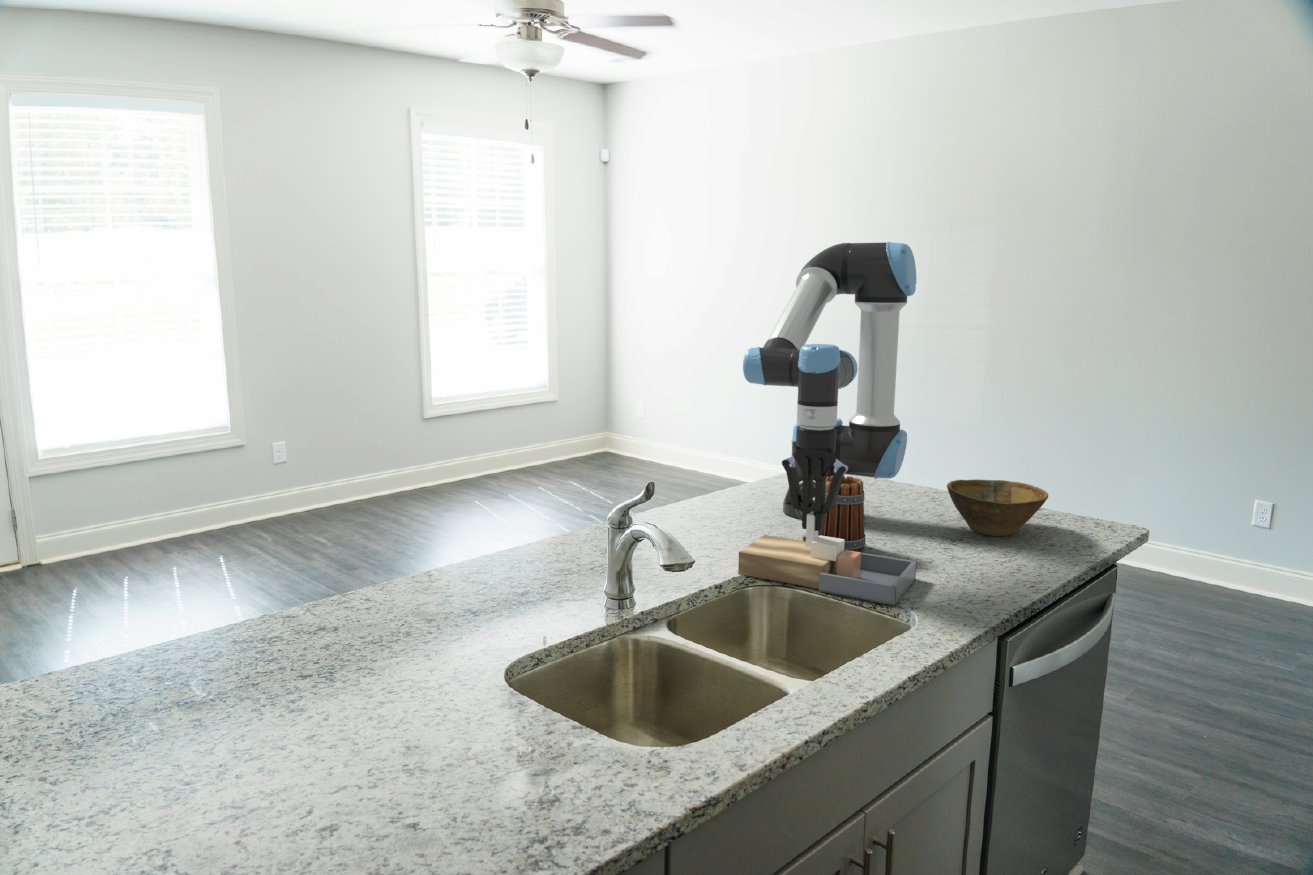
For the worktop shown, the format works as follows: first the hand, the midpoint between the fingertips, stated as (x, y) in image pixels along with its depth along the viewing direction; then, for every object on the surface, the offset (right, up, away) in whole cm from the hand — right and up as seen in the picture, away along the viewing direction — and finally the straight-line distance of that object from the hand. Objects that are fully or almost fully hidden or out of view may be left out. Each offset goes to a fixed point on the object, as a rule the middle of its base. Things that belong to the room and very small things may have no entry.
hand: (811, 545), depth 172 cm
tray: (+10, -7, -4) cm, 13 cm away
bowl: (+47, -1, +31) cm, 57 cm away
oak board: (-4, -6, +3) cm, 7 cm away
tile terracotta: (+5, -4, -2) cm, 7 cm away
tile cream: (+3, -2, -1) cm, 4 cm away
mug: (+7, -3, +18) cm, 20 cm away
